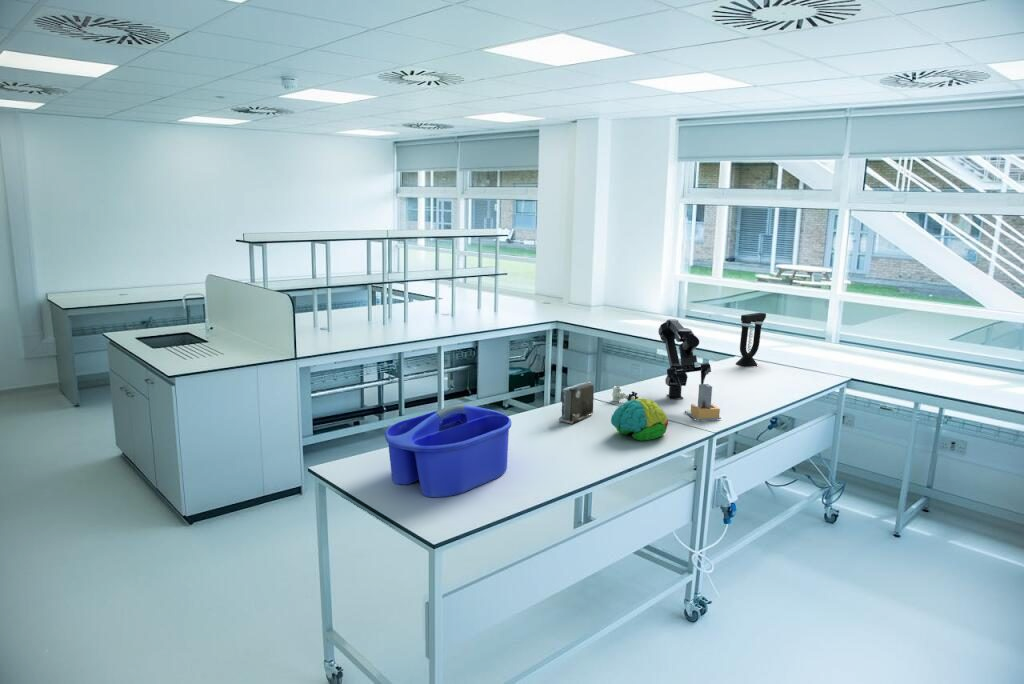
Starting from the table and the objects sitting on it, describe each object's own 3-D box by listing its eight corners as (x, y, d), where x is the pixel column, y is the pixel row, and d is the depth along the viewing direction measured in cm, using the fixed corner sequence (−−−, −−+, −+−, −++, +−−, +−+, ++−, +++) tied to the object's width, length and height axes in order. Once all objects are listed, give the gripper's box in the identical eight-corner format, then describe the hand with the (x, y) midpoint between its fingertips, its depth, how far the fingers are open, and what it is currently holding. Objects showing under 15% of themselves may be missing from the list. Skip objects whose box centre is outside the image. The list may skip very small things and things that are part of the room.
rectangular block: (697, 413, 279) (699, 384, 277) (705, 413, 280) (707, 384, 278) (701, 416, 276) (703, 386, 273) (710, 415, 276) (712, 386, 274)
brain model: (634, 447, 239) (637, 408, 237) (599, 433, 254) (602, 396, 252) (677, 438, 253) (680, 401, 250) (641, 426, 268) (644, 390, 266)
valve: (608, 401, 301) (628, 407, 292) (609, 387, 300) (629, 393, 291) (617, 398, 305) (638, 404, 296) (618, 385, 304) (638, 390, 295)
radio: (585, 409, 288) (586, 376, 286) (602, 412, 283) (603, 379, 280) (554, 421, 271) (555, 386, 268) (571, 425, 265) (572, 390, 263)
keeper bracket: (684, 412, 284) (685, 397, 283) (707, 411, 286) (709, 396, 284) (696, 421, 272) (697, 405, 271) (720, 419, 274) (722, 404, 273)
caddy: (366, 481, 208) (363, 411, 203) (464, 445, 241) (463, 384, 237) (432, 510, 188) (431, 433, 183) (529, 467, 221) (530, 401, 217)
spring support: (748, 368, 368) (752, 316, 362) (728, 364, 377) (732, 314, 372) (767, 363, 381) (771, 313, 375) (748, 360, 390) (752, 311, 385)
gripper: (663, 352, 286) (667, 386, 280) (706, 346, 280) (712, 380, 275) (666, 360, 296) (670, 393, 290) (708, 354, 290) (713, 387, 284)
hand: (691, 388), depth 284 cm, fingers open, 9 cm apart
